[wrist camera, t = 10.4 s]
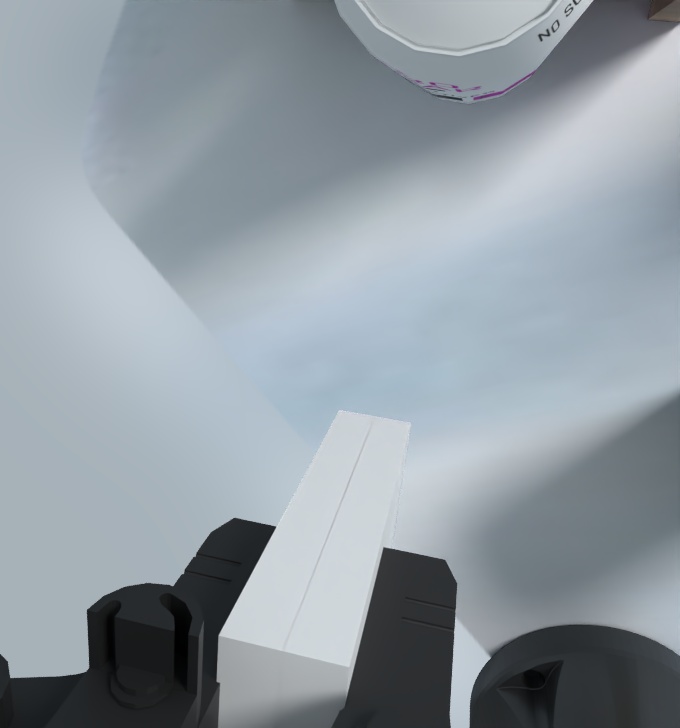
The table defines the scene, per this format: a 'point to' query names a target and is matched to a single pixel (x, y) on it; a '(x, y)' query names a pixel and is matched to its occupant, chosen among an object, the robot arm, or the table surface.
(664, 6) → the wooden bridge block
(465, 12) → the supplement can
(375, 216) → the table surface
